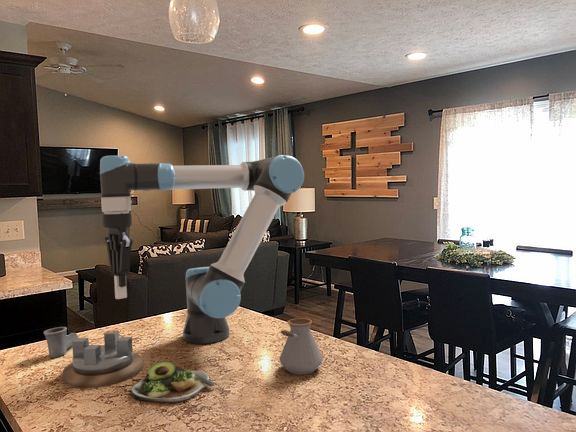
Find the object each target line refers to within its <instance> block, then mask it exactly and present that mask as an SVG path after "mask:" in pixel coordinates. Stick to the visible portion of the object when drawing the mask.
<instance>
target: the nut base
mask: <svg viewBox="0 0 576 432" xmlns="http://www.w3.org/2000/svg"><path fill="white" fill-rule="evenodd" d="M143 363H144V361H143V357H142V356H141V354H138V353H136V352H133V361H132V363H131V364H130V365H129V366H127V367H125V368H123V369H121V370H118V371H115V372H111V373H107V374H101V375H81V374H77V373H75V372H74V371H73V361H72V362H70V363H68V364H67V365H66V366H65V367H64V368H63V369H62V381H63V383H64V384H65V385H66V386H68V387H71V388H72V387H73V388H77V389H79V388H80V389H94V388H103V387H108V386H112V385H116V384H119V383H123V382H125V381H127V380H130V379H132V378H133V377H136V376H137V375H138V374H139V373H141V371H142V370H143V368H144V364H143Z"/></svg>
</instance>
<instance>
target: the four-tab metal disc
mask: <svg viewBox="0 0 576 432" xmlns="http://www.w3.org/2000/svg"><path fill="white" fill-rule="evenodd" d="M89 339H90V338H89V337H78V338H77V339H75V340H74V341H72V362H73V371H74V372H75V373H77V374H81V375H101V374H107V373H111V372H115V371H118V370H121V369H123V368H125V367H127V366H129V365H130V364H131V363H132V361H133V353H134V352H133V350H134V349H133V337H132V336H121V337H120V331H119V329H118V330H115V329H112V330H107V331H106V332H105V333H104V334H103V340H104V345H103V344H102V345H101V344H90V343H89V342H90V341H89Z"/></svg>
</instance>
